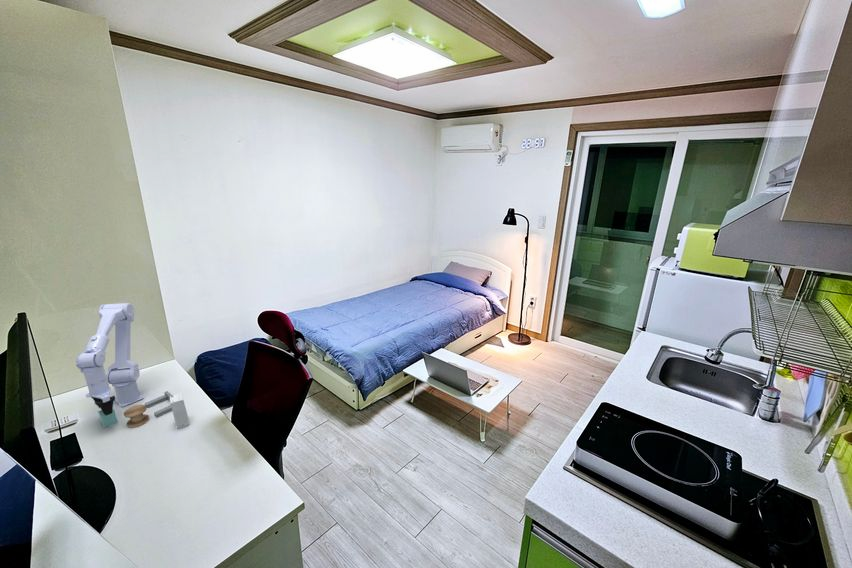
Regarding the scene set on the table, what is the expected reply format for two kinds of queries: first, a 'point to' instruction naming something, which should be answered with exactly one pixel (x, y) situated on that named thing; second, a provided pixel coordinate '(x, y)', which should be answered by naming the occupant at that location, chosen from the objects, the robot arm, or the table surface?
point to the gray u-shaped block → (159, 400)
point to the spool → (136, 416)
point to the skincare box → (179, 410)
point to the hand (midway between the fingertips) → (105, 410)
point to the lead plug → (107, 418)
